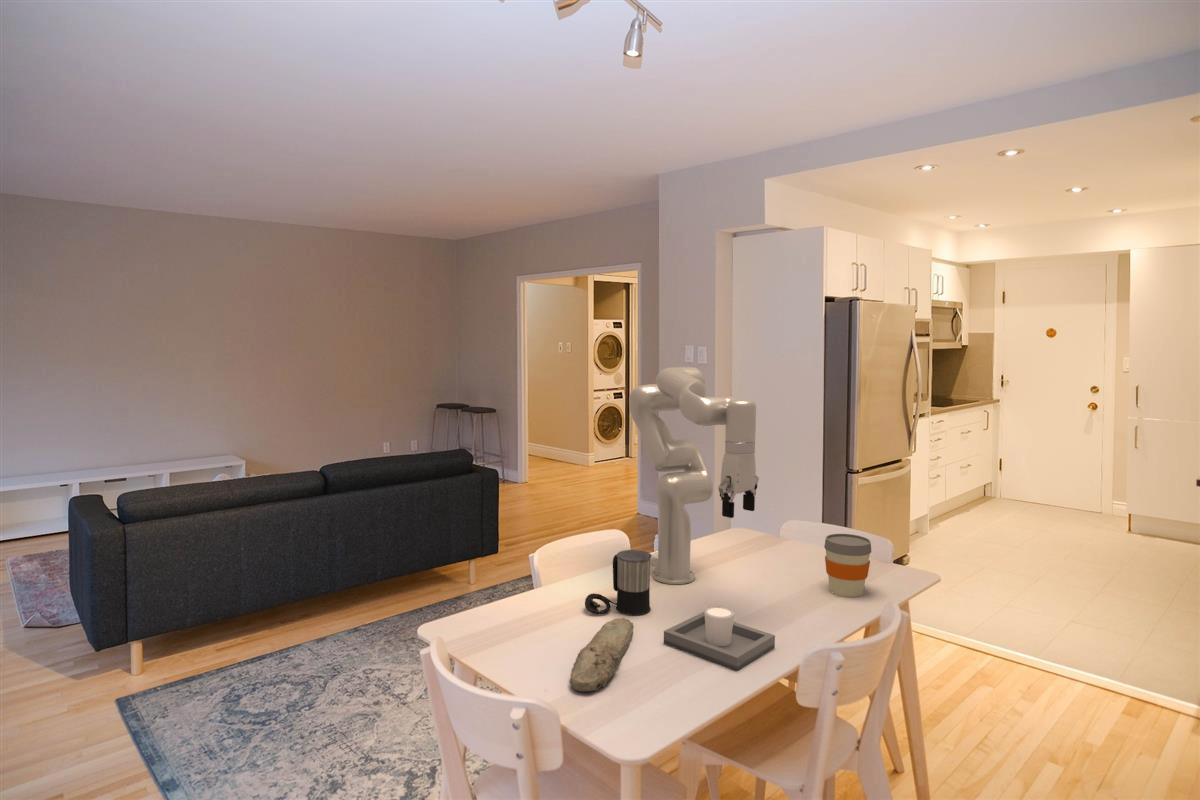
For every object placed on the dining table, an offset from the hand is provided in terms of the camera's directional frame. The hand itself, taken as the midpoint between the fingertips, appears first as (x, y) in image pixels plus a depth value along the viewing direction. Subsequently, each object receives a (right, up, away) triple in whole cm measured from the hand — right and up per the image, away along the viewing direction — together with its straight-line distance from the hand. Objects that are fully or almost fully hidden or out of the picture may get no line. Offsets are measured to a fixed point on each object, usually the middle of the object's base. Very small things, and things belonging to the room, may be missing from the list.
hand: (738, 513), depth 183 cm
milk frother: (-31, -26, +3) cm, 41 cm away
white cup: (-8, -27, -17) cm, 33 cm away
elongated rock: (-34, -29, -24) cm, 51 cm away
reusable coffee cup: (+34, -25, +18) cm, 46 cm away
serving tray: (-8, -28, -18) cm, 34 cm away
